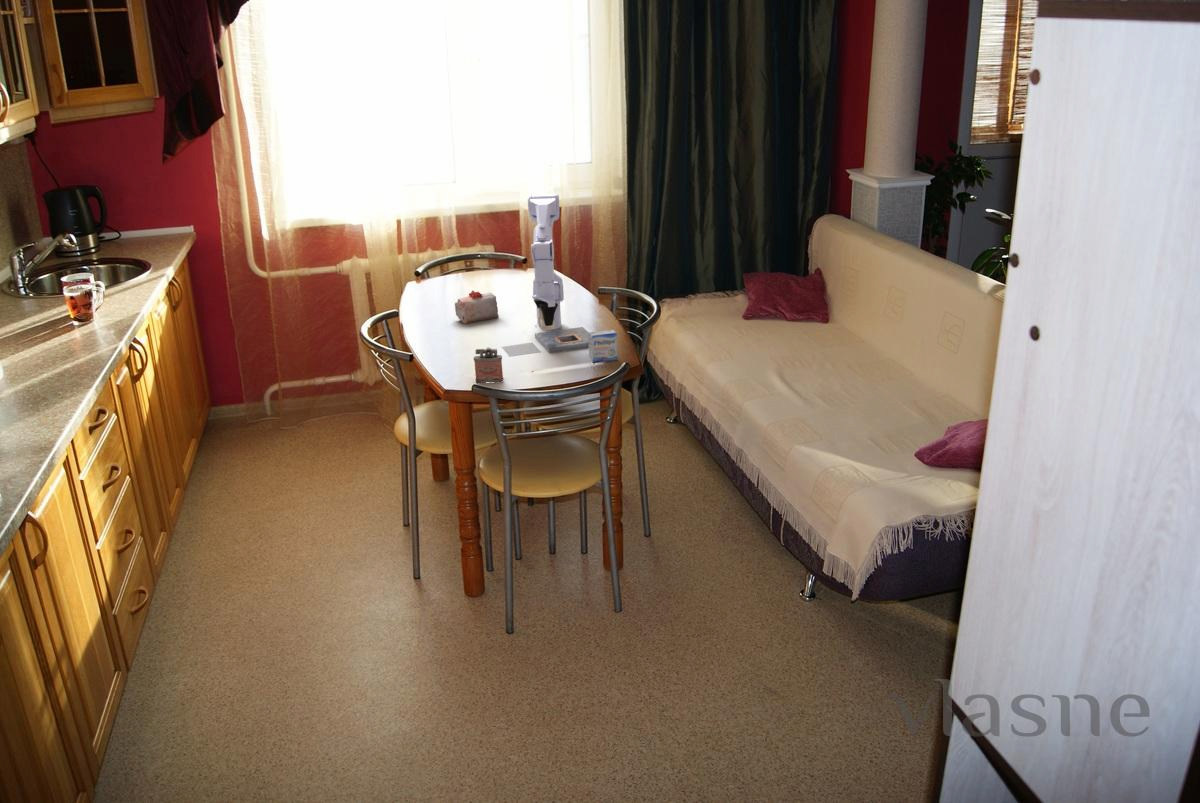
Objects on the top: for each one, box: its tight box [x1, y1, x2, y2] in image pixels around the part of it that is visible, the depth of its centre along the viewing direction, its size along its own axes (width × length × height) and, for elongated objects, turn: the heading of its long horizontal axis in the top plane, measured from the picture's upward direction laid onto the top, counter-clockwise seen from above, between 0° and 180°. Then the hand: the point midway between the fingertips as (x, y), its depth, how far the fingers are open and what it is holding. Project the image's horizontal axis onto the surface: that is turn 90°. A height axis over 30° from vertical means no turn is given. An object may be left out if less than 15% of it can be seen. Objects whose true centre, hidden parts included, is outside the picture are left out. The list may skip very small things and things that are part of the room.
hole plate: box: [534, 326, 589, 354], centre depth 318 cm, size 16×16×3 cm
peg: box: [538, 308, 556, 331], centre depth 312 cm, size 4×4×6 cm
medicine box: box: [588, 329, 618, 364], centre depth 303 cm, size 8×4×9 cm, turn 105°
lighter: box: [473, 347, 505, 385], centre depth 289 cm, size 8×3×10 cm, turn 92°
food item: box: [454, 290, 499, 325], centre depth 346 cm, size 14×8×10 cm, turn 119°
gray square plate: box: [501, 342, 542, 357], centre depth 313 cm, size 10×10×1 cm
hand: (546, 323), depth 312 cm, fingers closed on peg, 4 cm apart
